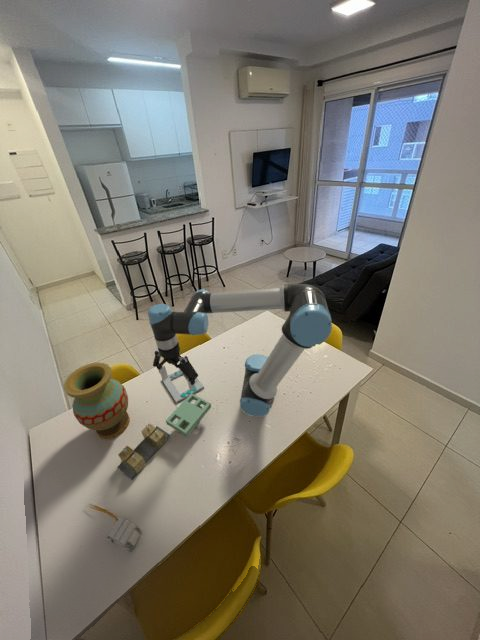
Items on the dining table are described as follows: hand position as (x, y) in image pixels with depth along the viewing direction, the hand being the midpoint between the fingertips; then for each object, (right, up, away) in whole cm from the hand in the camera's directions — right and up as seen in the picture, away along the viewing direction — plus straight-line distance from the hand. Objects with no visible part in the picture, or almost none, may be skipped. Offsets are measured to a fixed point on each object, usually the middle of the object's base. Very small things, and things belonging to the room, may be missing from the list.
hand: (178, 383), depth 106 cm
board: (+4, -14, +4) cm, 15 cm away
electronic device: (-4, -7, +26) cm, 28 cm away
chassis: (-13, -27, -2) cm, 30 cm away
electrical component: (-17, -41, -22) cm, 50 cm away
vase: (-31, -20, +8) cm, 38 cm away
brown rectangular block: (+4, -19, +7) cm, 21 cm away
